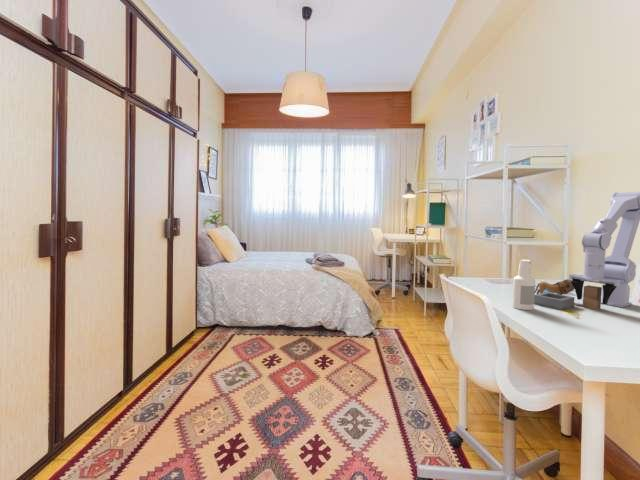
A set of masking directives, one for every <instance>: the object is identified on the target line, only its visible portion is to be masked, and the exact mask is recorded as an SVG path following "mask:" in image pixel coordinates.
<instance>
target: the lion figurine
mask: <svg viewBox="0 0 640 480" xmlns="http://www.w3.org/2000/svg"><path fill="white" fill-rule="evenodd" d="M571 281H572V280H571V279H569V278H568V279H563V280H562V281H558V282H556V283H549V282H547V281H540V282H539V283H538V284H537V285H536V286H535V295H537V294H541V293H544V291H545V290H546V292H549V293H554V294H559V295H568V294H569V293H571V292H573V291H575V289H574V287H573V285H572V283H571Z"/></svg>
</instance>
